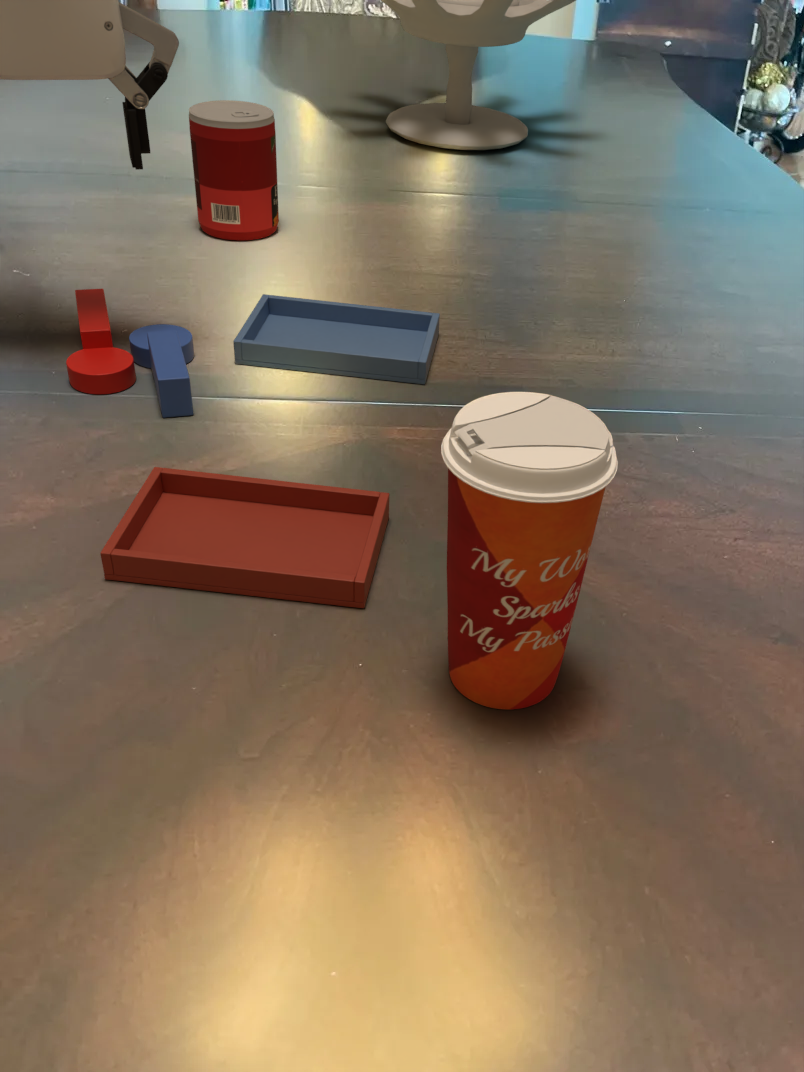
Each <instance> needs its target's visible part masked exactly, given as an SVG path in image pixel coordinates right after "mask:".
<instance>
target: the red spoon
mask: <svg viewBox="0 0 804 1072" xmlns="http://www.w3.org/2000/svg"><path fill="white" fill-rule="evenodd" d="M74 294H75V302H76V310H77V318H78V319H77V320H78V327H79V335H80V340H81V347H82V349H79V350H77V351H75V352H73V353H71V354H70V355H69V356H68V357H67V359H66V361H65V365H66V371H67V376H68V381H69V385H70V386H71V387H72V388H73V389H74V390H76V391H78V392H81V393H84V394H90V395H109V394H117V393H120V392H123V391H125V390H127V389H129V388H130V387H132V386H133V385H134V384H135V383H136V381H137V373H136V367H135V362H134V359H133V356H132V355H131V352H130V351H127V350H125V349H123V348H119V347H114V343H113V336H112V329H111V325H110V324H111V323H110V318H109V312H108V308H107V307H108V306H107V301H106V295H105V294H106V293H105V289H104V288H85V289H75V290H74Z"/></svg>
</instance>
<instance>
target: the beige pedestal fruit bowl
mask: <svg viewBox="0 0 804 1072" xmlns="http://www.w3.org/2000/svg"><path fill="white" fill-rule="evenodd" d="M380 1H381V2H382V3H383V4H385V5H386V6H388V7H389V8H390V9H391V10H392V11H393V12H395V14H396V15H397V16H398V18H399V22H400V26H401V28H402V30H403V31H404V32H406V33H407V34H410V35H411V36H413V37H416V38H418V39H421V40H425V41H427V42H428V41H429V42H432V43H438V44H443V45H445V52H446V53H445V54H446V58H447V64H448V80H447V85H446V93H445V102H428V103H427V102H426V103H415V104H410V105H405V106H401V107H400V108H398V109H396V110H393V111H391V112H390V113H388V115H387V118H386V120H385V123H386V125H387V127H388V129H390V132H392V133H394V134H396V135H398V136H400V137H402V138H404V139H406V140H407V141H410V142H414V143H416V144H417V143H418V144H421V145H424V146H425V145H426V146H431V147H435V148H439V149H440V148H441V149H447V150H448V149H449V150H457V151H458V150H460V151H489V150H497V149H498V150H499V149H503V148H508V147H511V146H514V145H517V144H520V143H521V142H522V141H524V140H525V139H526V138H528V136H529V135H528V133H529V128H528V126H527V125H526V124H525V123H524V122H522V121H521V120H520V119H519V118H517V117H515V116H514V115H510V114H509V113H507V112H504V111H501V110H497V109H492V108H489V107H484V106H480V105H474V104H473V83H472V78H473V77H472V74H473V69H474V66H475V63H476V58H477V56H478V53H479V48H493V47H503V46H509V45H514V44H517V43H519V42H521V41H522V40H523V39H524V38H525V36H526V32H527V30H528V28H529V27H530V26H532V25H533V24H534V23H536V22H538V21H540V20H541V19H543V18H545V17H547V16H548V15H551V14H552V13H554V12H557V11H558V10H560V9H561V10H562V9H563V8H565V7H566V6H569V5H571V4H573V3H574V2H576V1H577V0H380Z"/></svg>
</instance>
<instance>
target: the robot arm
mask: <svg viewBox="0 0 804 1072" xmlns="http://www.w3.org/2000/svg"><path fill="white" fill-rule="evenodd" d="M124 30H125V31H127V32H129V33H131V34H132V35H135V37H137V38H140V39H142V40H144V41H146V42H148V43H149V44H151V45H152V46H153V51H152V55H151V57H150V60H149V62H148V63H147V64H146V66H144V68H143V69H142V70H141V72H140V73H139V74H138V75H137V76H136V75H135V74H134V73H133V72H132V71H131V69H130V68H128V66H127V58H126V56H127V55H126V41H125V33H124ZM179 40H180V39H179V38H178V36H177V35H176V33H175V32H174V31H173V30H171V29H169V28H167V27H165V26H163V25H161V24H160V23H158V22H157V21H154V20H153V19H151V18H149V17H147V16H145V15H144V14H143V13H140V12H138V11H136V10H134V9H132V8H131V7H129V6H127V5H126V4H124V3H122V2H120V1H119V0H0V80H2V81H3V80H4V81H5V80H6V81H8V80H9V81H91V80H92V81H93V80H94V81H95V80H96V81H97V80H107V79H108V81H110V83H112V84H113V86H114V87H115V88H116V89H117V90H118V91H119V92H120V93H121V94H122V95H123V96H124V101H122V110H123V111H122V112H123V118H124V124H125V131H126V139H127V140H126V141H127V147H128V154H129V160H130V162H131V168H133V169H134V168H135V170H139V171H140V170H144V164H143V158H142V154H143V155H146V154H148V155H149V154H151V144H150V138H149V137H150V136H149V128H148V120H147V112H146V109H147V107H148V106H149V103H150V101H151V100H152V98H153V97H154V96H155V95H156V93H158V91H159V90H160V89H161V88H162V87H163V85H164V84H165V83H166V82H167V80H168V77H169V75H168V74H169V72H170V69H171V67H172V65H173V62H174V59H175V57H176V54H177V52H178V50H179V47H180V46H179V45H180V41H179Z"/></svg>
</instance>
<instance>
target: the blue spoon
mask: <svg viewBox="0 0 804 1072" xmlns="http://www.w3.org/2000/svg"><path fill="white" fill-rule="evenodd" d="M128 342H129V348H130V354H131V355H132V356H133V359H134V364H136V365H138V366H141V367H143V368H147V369H151V373H152V377H153V381H154V386H155V390H156V391H155V392H156V395H157V399H158V405H159V408H160V412H161V417H162V418H175V417H186V416H187V417H188V416H193V415H194V405H193V396H192V387H191V385H192V384H191V378H190V374H189V371H188V367H187V364H189V363H191V361H192V360H193V359H194V358H195V348H194V338H193V334H192V332H191V331H190V330H189V329H187V328H185V327H183V326H180V325H175V324H168V323H159V324H149V325H143V326H141V327H139V328H135V329H134V330H133V331H131V333H130V334H129V336H128Z"/></svg>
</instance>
